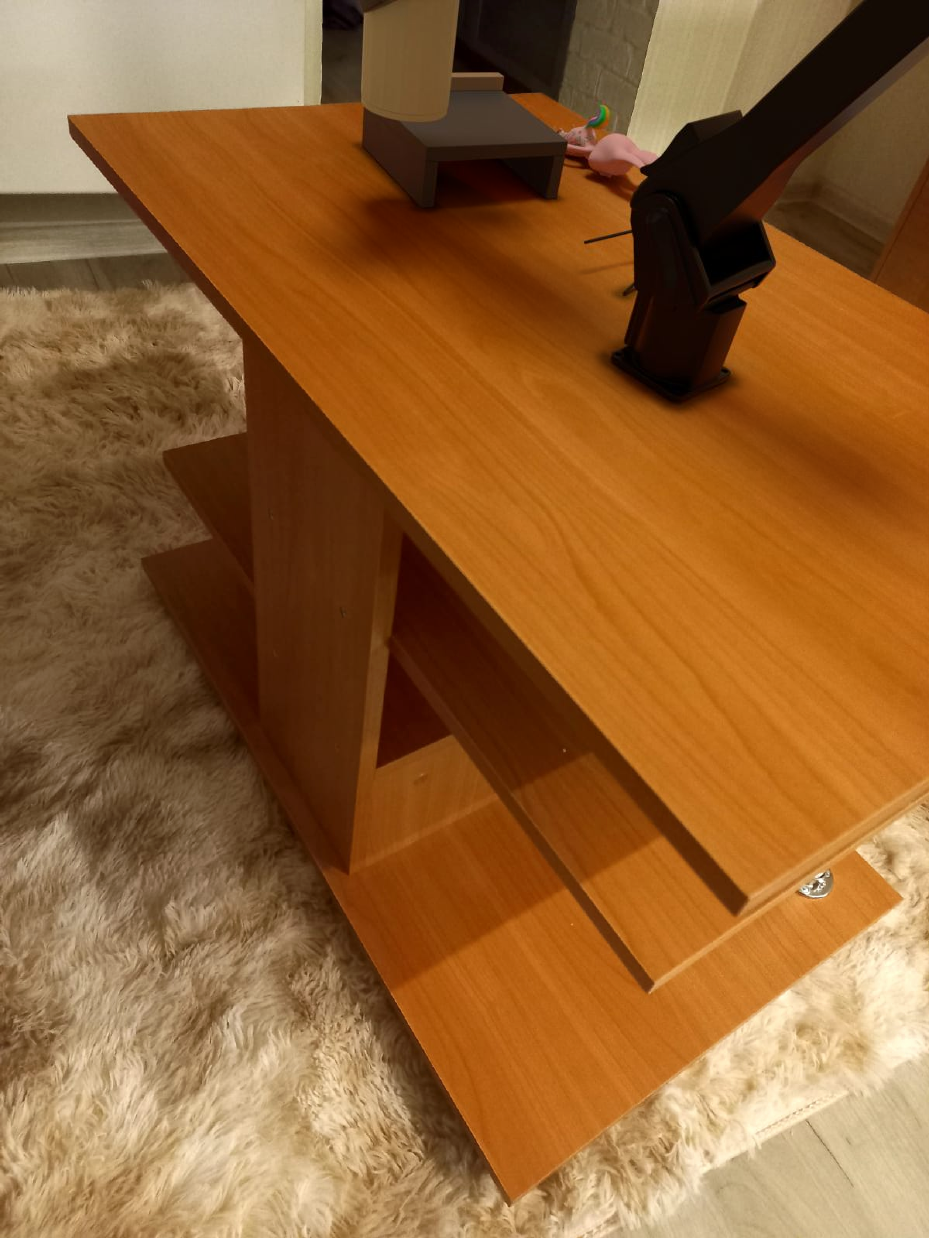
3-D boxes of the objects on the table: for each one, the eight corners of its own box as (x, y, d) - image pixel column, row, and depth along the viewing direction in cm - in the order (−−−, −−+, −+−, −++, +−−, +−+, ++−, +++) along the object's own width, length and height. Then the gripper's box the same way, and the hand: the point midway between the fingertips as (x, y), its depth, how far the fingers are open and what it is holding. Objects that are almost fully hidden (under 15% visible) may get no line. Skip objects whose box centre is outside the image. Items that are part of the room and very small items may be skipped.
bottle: (452, 126, 67) (476, -96, 58) (363, 118, 66) (373, -110, 56) (441, 96, 72) (462, -115, 62) (358, 87, 71) (366, -129, 61)
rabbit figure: (535, 161, 91) (626, 197, 81) (541, 95, 87) (637, 124, 77) (583, 157, 93) (677, 191, 84) (591, 93, 90) (690, 121, 80)
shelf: (557, 198, 82) (571, 126, 77) (421, 208, 76) (428, 131, 72) (489, 140, 89) (498, 72, 85) (361, 145, 84) (364, 73, 79)
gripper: (583, -296, 55) (444, -114, 68) (358, -338, 45) (243, -115, 58) (646, -108, 58) (500, 34, 71) (446, -108, 48) (317, 58, 60)
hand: (399, 2), depth 65 cm, fingers closed on bottle, 7 cm apart
